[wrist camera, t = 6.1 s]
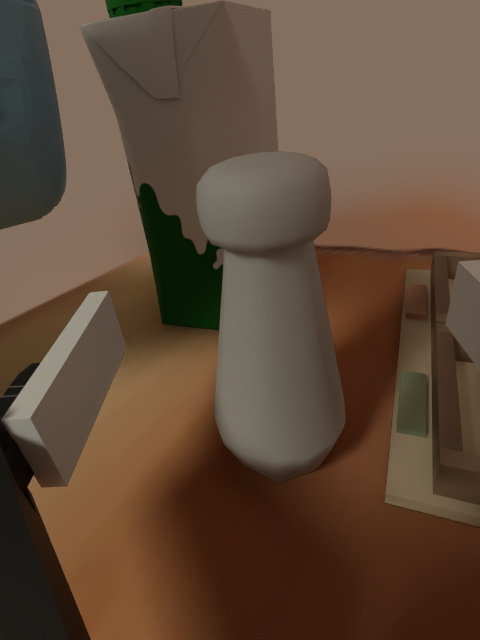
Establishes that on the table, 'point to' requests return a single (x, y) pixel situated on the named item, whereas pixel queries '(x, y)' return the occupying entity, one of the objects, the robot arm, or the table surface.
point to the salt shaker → (273, 312)
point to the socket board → (434, 403)
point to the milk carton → (185, 125)
